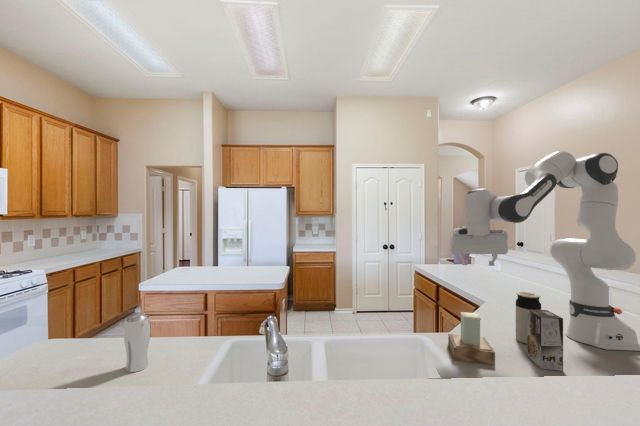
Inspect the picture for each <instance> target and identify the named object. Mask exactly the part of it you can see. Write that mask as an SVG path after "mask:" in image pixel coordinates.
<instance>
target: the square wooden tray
mask: <svg viewBox="0 0 640 426" xmlns="http://www.w3.org/2000/svg"><path fill="white" fill-rule="evenodd" d="M447 337H448V342H447V343H448V345H447V346H448V347H449V349H450V352H451V356H452V358H453V360H454V361H458V362H459V361H460V362H467V363H468V362H469V363H477V364H483V365H484V364H485V365H490V366H491V365H492V366H495V365H496V352H495V350H494V349H493V348H492V346H491V345H490V343H489V342H488V340H487V339H486V337H482V336H480V345H472V344H464V343H463V341H462V339H461V334H454V333H448V335H447Z"/></svg>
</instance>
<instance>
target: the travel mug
mask: <svg viewBox="0 0 640 426" xmlns="http://www.w3.org/2000/svg"><path fill="white" fill-rule="evenodd" d="M516 295H517V298H516V299H515V340H516V341H518V342H520V343H522V344H524V345H528V341H527V309H531V310H542V304H541V302H540V298H541V295H540V294H537V293H535V292H529V291H517V292H516Z"/></svg>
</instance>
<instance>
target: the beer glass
mask: <svg viewBox="0 0 640 426" xmlns="http://www.w3.org/2000/svg"><path fill="white" fill-rule="evenodd" d="M151 327H152V325H151V316H150V315H148V314H138V315H132V316H129V317H127V318H125V321H124V330H123V340H124V341H123V342H124V348H125V353H126V363H125V367H124V371H125V372H126V373H139V372H140V371H144V370H145V369H146V368H148V367H149V359H148V348H149V344H150V339H151V334H152V333H151Z"/></svg>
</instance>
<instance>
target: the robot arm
mask: <svg viewBox="0 0 640 426" xmlns="http://www.w3.org/2000/svg"><path fill="white" fill-rule="evenodd" d="M618 170H619V163H618V160H617V159H616V158H615V157H614V156H613V155H612V154H611V153H608V152H597V153H593V154H591V155H588V156H583V157H580V158H576V159H575V157H574V156H573V154H571V153H570V152H569V151H565V150H564V151H563V150H560V151H555V152H552V153H550V154H548V155H546V156H545V157H543V158H542V159H540V160H538V161H537V162H535V163H534V164H532V165H531V166H530V167H529V168H528V169H527V170H526V172H525V173H524V180H525V183H526V185H527V186H528V187H527V188H526V189H525V190H524V191H522V192H521V193H519V194H518V193H517V194H513V195H512V194H511V195H507V196H506V195H505V196H499V195H496V194H494V193H492V192H491V191H489V190H488V189H487V188H485V187H484V188H477V189H472V190H469V191H467V192H466V194H465V196H464V210H463V211H464V215H465V218H464V219H465V220H464V225H462V226H459V227H456V228H453V229H452V232H451V233H452V236H451V237H450V240H449V252H450V253H452V254H455V255H456V254H458V255H459V257H460V260H461V261H462V265H463V266H468V260H467V259H465V258H464V257H465V255H466V254H467V255H470V254H472V255H491V257H492V258H491V260H488V266H490V267H494V266H495V261H496V260H497V259H498V255H507V253H508V252H509V247H508V242H507V241H508V233H507V231H504V230H503V229H498V230H497V229H491V221H492V222H508V223H514V224H517V223H518V224H519V223H522V222H525V221H526V220H527V219H529V217H530V216H531V214H532V213H533V210H534V209H535V207H536V206H537V205H538V204H539V203H541V202H542V201H543V200H544V198H546V197H547V196H548V195H549V194H550V193H551V192H552V191H553V190H554V189H555V188H556V187H557V186H558V187H560V188H563V189H574V188H579V187H580V188H581V191H582V194H581V198H580V200H579V206H578V211H577V216H576V223H577V225H578V226H579V227H580V228H581V229H583V230H585V231H586V232H589V236H590V237H589V238H576V237H575V238H573V237H569V238H568V237H566V238H559V239H556V240H554V241H553V242H552V244H551V246H550V248H549V249H550V256H551V257H552V259H553V260H554V261H556V262H557V263H558V264H559V265H560V266H561V267H562V268H563V269H564V271H565V273H566V275H567V277H568V280H569V281H568V282H569V288H570V299H569V307H568V309H569V322H568V326H567V329H566V331H565V335H566V337H568V338H570V339H572V340H573V341H577V342H579V343H583V344H585V345H589V346H593V347H597V348H599V349H602V350H607V351H608V350H610V351H611V350H614V351H632V352H633V351H637V352H638V351H639V352H640V341H639V340H638V335H637V332H636V331H635V329H634V328H632V327H631V326H630V325H628V324H627V323H626V322H624V321H623V320H621V319H620V318H618V317H617V316H616V314H617V315H622V314H623V310H622V309H621V308H618V307H613V306H612V305H610V287H609V285H608V284H607V282H606V281H605V280H604V279H602V278H600V277H598V276H597V275H596V274H595V273H594V271H593V270H592V269H593V268H594V269H598V270H599V269H600V270H607V271H623V270H625V271H626V270H629V269H630V268H631V267H632V266H633V265H635V262H636V260H637V259H636V258H637V257H636V256H637V255H636V252H635V250H634V248H633V247H632V246H631V245H630V244H629V243H627V242H625V241H624V240H623V239H622V238H621V236H620V235H619V234H618V232H617V228H616V221H617V212H618V206H619V205H618V204H619V189H618V185H617V184H616V183H615V182H614V181H615V180H616V178H617V174H618Z"/></svg>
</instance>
